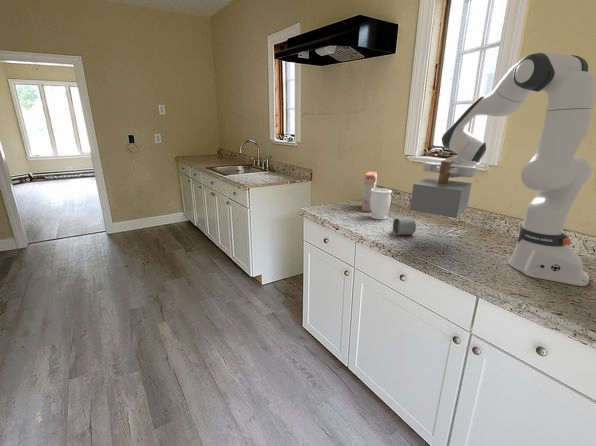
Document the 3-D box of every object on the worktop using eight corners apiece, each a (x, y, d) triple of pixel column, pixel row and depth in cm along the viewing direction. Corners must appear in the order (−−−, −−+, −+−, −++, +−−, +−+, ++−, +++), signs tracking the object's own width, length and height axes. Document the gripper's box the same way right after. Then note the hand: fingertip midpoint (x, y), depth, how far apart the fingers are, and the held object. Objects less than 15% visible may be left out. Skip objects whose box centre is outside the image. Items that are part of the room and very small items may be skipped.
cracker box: (372, 212, 178) (375, 175, 172) (361, 211, 180) (364, 174, 174) (374, 206, 191) (377, 171, 184) (364, 205, 193) (367, 171, 186)
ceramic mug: (416, 236, 142) (418, 220, 140) (398, 237, 141) (400, 220, 138) (404, 229, 152) (406, 213, 150) (388, 230, 151) (390, 214, 149)
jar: (364, 216, 170) (366, 189, 166) (376, 213, 177) (379, 186, 172) (381, 221, 162) (384, 192, 158) (392, 218, 169) (396, 190, 164)
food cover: (466, 208, 134) (475, 161, 128) (456, 218, 121) (466, 165, 114) (423, 201, 144) (430, 157, 138) (410, 209, 131) (416, 161, 125)
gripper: (429, 157, 142) (419, 160, 132) (480, 161, 130) (473, 165, 120) (427, 171, 144) (417, 175, 134) (477, 177, 132) (470, 182, 122)
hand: (444, 170), depth 127 cm, fingers closed on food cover, 3 cm apart
